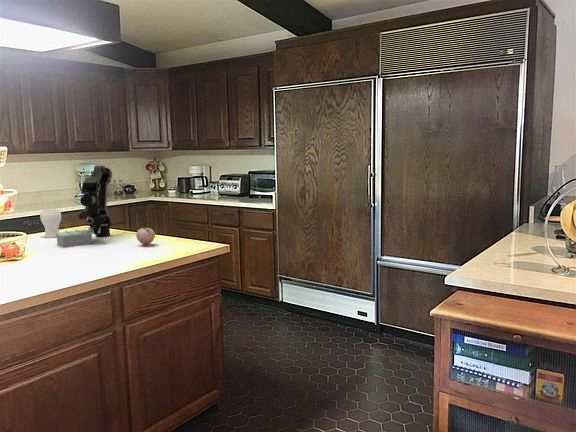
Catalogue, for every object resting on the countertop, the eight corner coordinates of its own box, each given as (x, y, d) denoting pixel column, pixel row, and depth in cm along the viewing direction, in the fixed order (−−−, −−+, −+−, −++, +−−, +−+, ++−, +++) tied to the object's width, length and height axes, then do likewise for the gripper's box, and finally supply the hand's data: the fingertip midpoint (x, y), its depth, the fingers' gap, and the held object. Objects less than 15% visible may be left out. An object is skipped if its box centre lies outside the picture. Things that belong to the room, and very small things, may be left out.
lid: (95, 231, 254) (95, 225, 254) (103, 233, 246) (102, 228, 246) (55, 236, 242) (55, 230, 241) (62, 238, 234) (61, 232, 233)
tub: (85, 242, 251) (85, 231, 250) (92, 245, 244) (91, 233, 243) (57, 246, 242) (56, 234, 241) (63, 249, 235) (62, 237, 234)
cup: (47, 238, 263) (45, 211, 261) (38, 237, 269) (36, 210, 267) (66, 236, 271) (64, 209, 269) (56, 234, 278) (54, 208, 276)
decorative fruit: (159, 244, 242) (158, 225, 241) (146, 247, 236) (145, 227, 234) (146, 243, 248) (145, 224, 246) (133, 245, 241) (132, 226, 239)
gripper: (70, 204, 249) (72, 233, 251) (82, 207, 235) (84, 238, 237) (92, 202, 256) (94, 231, 258) (105, 205, 242) (107, 235, 244)
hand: (94, 234), depth 249 cm, fingers closed on lid, 3 cm apart
